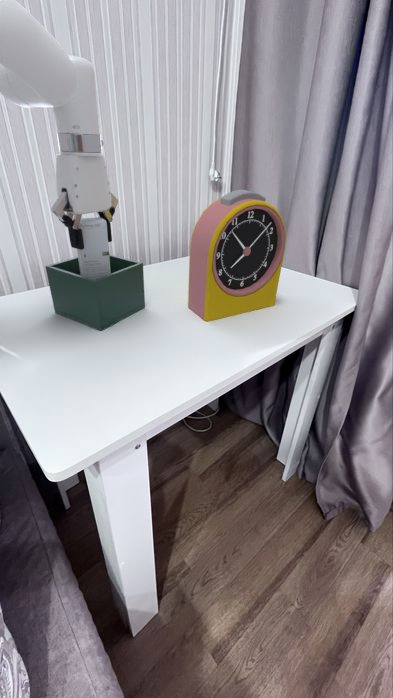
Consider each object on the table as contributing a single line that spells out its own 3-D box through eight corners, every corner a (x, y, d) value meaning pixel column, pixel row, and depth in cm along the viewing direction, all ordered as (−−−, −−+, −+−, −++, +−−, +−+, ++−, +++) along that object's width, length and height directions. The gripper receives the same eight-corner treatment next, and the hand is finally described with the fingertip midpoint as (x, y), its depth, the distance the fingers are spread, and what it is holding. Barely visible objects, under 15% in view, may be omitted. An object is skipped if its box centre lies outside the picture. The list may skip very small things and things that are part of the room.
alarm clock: (205, 321, 75) (214, 195, 61) (186, 306, 82) (190, 189, 68) (275, 305, 85) (296, 192, 70) (253, 292, 91) (268, 186, 77)
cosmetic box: (84, 282, 71) (75, 222, 64) (79, 275, 74) (71, 218, 67) (112, 278, 73) (107, 220, 67) (107, 271, 77) (101, 216, 70)
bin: (100, 331, 70) (94, 281, 64) (55, 312, 76) (45, 266, 70) (145, 307, 80) (143, 262, 75) (101, 292, 87) (96, 250, 81)
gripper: (100, 145, 68) (109, 234, 78) (24, 143, 56) (45, 249, 65) (128, 147, 65) (133, 239, 75) (53, 146, 52) (71, 257, 62)
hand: (92, 243), depth 70 cm, fingers closed on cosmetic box, 7 cm apart
